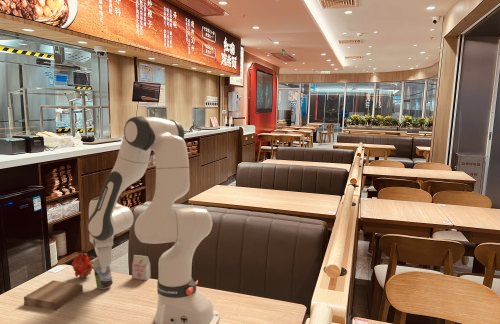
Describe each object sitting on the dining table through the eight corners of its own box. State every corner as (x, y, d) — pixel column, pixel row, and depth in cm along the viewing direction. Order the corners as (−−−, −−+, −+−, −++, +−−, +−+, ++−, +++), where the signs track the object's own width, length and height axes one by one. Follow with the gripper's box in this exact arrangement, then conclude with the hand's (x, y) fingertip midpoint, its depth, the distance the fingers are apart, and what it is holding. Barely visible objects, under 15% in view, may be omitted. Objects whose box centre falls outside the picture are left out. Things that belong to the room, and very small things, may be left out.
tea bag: (136, 275, 161) (136, 253, 160) (150, 277, 160) (150, 255, 158) (132, 278, 158) (131, 256, 156) (146, 280, 156) (145, 258, 155)
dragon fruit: (86, 282, 153) (85, 255, 151) (67, 281, 154) (66, 253, 152) (98, 274, 161) (96, 247, 160) (80, 272, 162) (78, 246, 161)
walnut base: (83, 293, 145) (82, 285, 145) (56, 311, 132) (55, 302, 131) (53, 288, 149) (53, 280, 148) (24, 305, 135) (23, 297, 135)
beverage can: (107, 292, 146) (106, 264, 144) (90, 289, 147) (89, 261, 145) (116, 284, 152) (115, 257, 150) (100, 281, 153) (98, 254, 151)
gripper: (90, 229, 154) (91, 260, 156) (96, 245, 137) (97, 280, 139) (106, 227, 157) (107, 257, 159) (113, 243, 140) (114, 277, 142)
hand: (102, 268), depth 149 cm, fingers open, 5 cm apart
